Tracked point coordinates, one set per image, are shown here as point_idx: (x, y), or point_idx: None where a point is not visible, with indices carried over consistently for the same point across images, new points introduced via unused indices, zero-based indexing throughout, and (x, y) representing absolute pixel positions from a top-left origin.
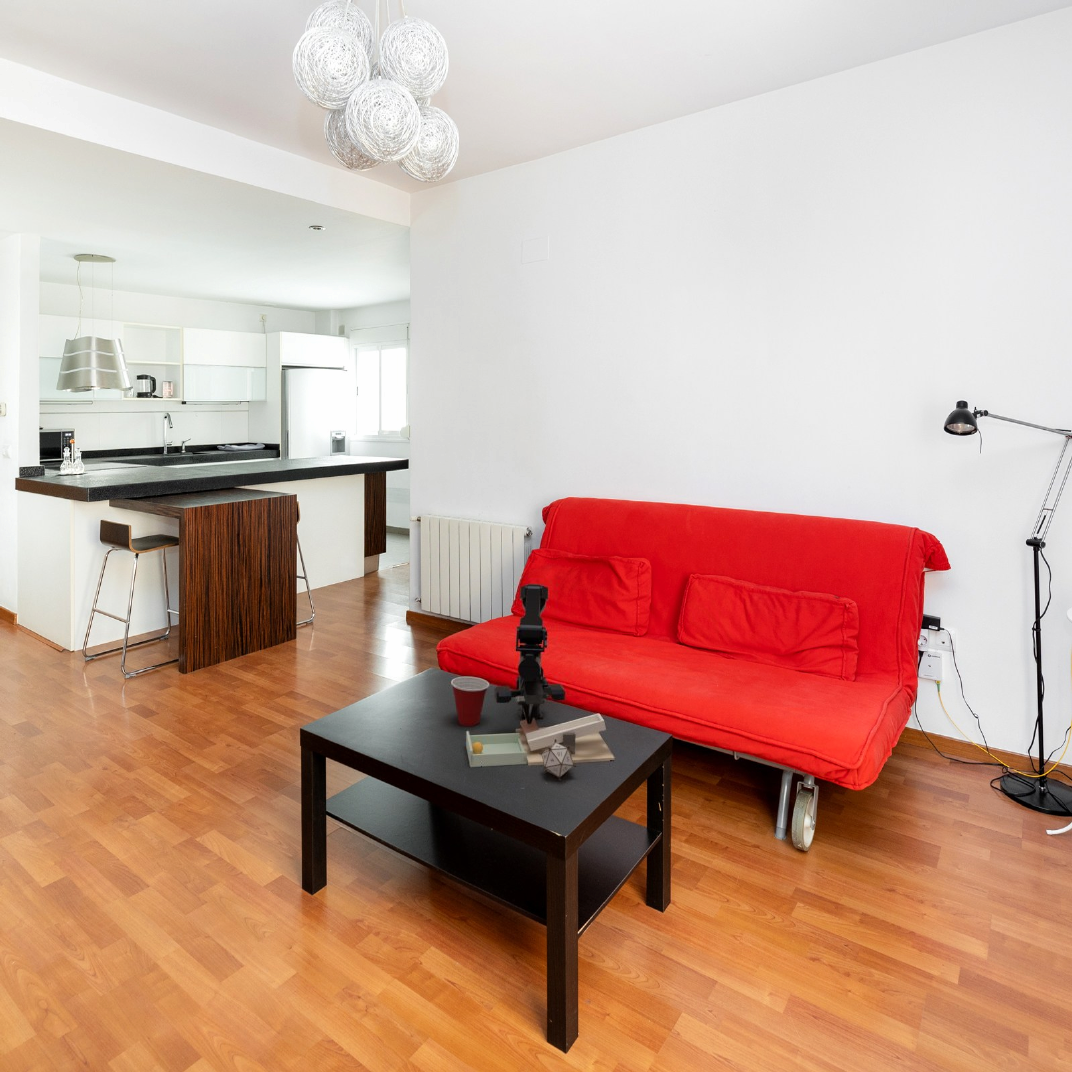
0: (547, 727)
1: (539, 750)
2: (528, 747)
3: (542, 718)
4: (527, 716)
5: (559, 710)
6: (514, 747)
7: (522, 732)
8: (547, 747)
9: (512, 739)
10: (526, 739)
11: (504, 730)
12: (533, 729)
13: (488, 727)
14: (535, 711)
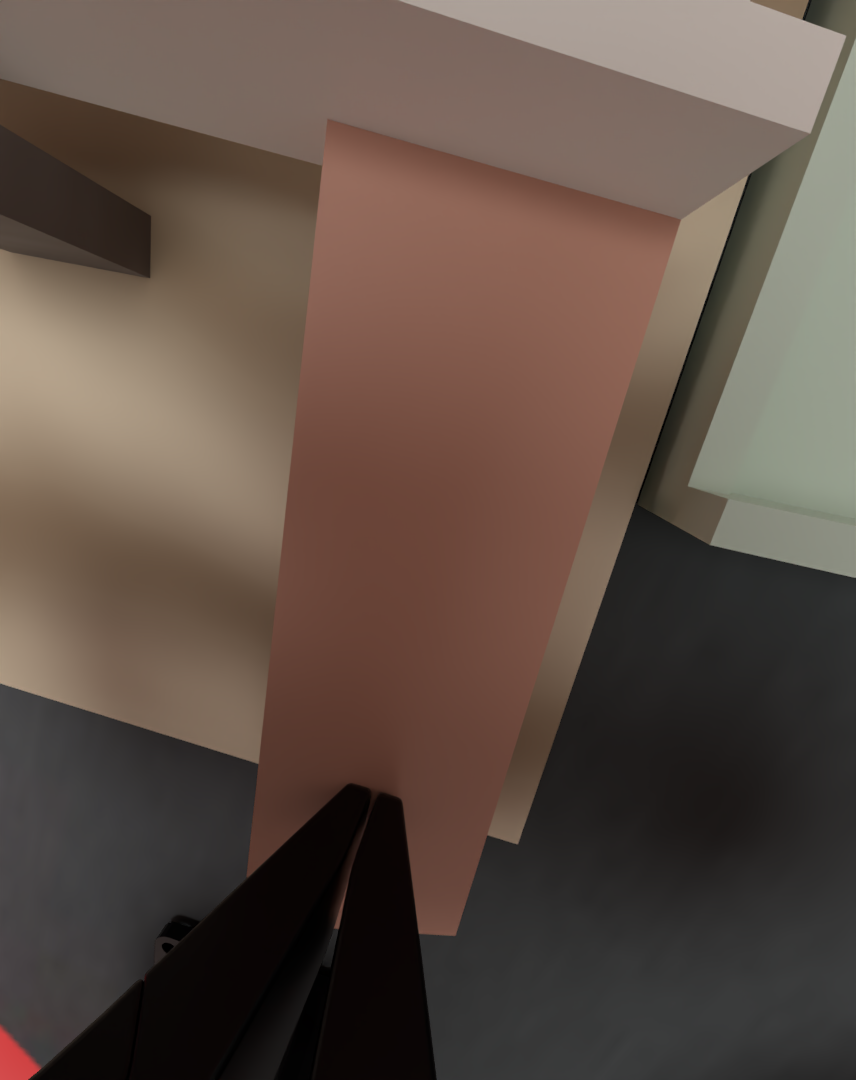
0: (169, 731)
1: None
2: None
3: (174, 923)
4: (378, 952)
5: (23, 973)
6: (841, 320)
7: None
8: None
9: (812, 511)
10: None
11: (622, 887)
12: (388, 560)
13: (754, 1011)
14: (70, 1054)
